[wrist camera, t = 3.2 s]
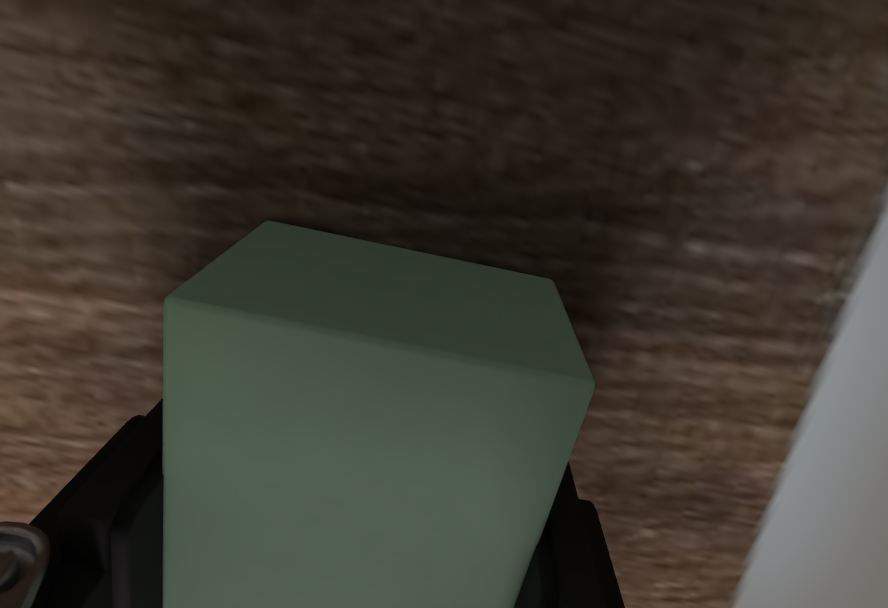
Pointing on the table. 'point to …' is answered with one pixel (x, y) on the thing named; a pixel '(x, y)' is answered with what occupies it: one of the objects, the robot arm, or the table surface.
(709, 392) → the table surface
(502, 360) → the green block
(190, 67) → the table surface
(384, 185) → the table surface
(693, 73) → the table surface
